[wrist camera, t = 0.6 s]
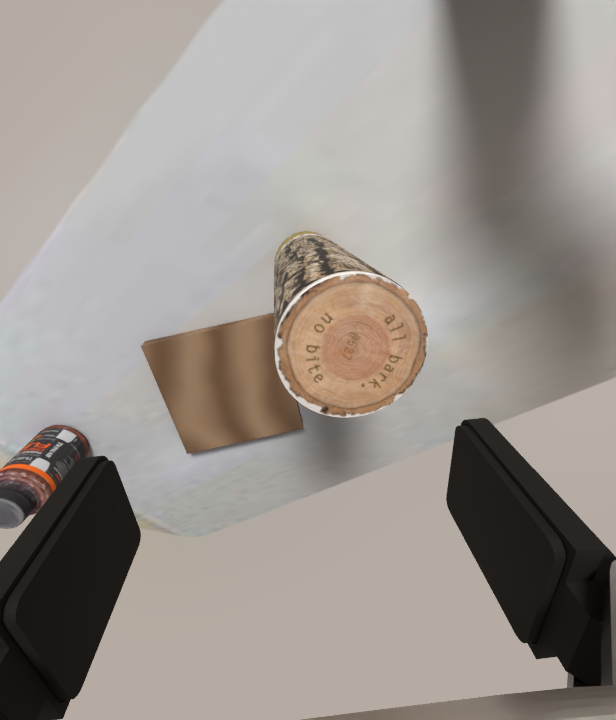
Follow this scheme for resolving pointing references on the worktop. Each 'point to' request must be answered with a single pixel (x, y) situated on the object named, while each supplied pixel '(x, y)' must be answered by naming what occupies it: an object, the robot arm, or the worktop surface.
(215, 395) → the board
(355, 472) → the worktop surface
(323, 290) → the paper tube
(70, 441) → the supplement bottle
